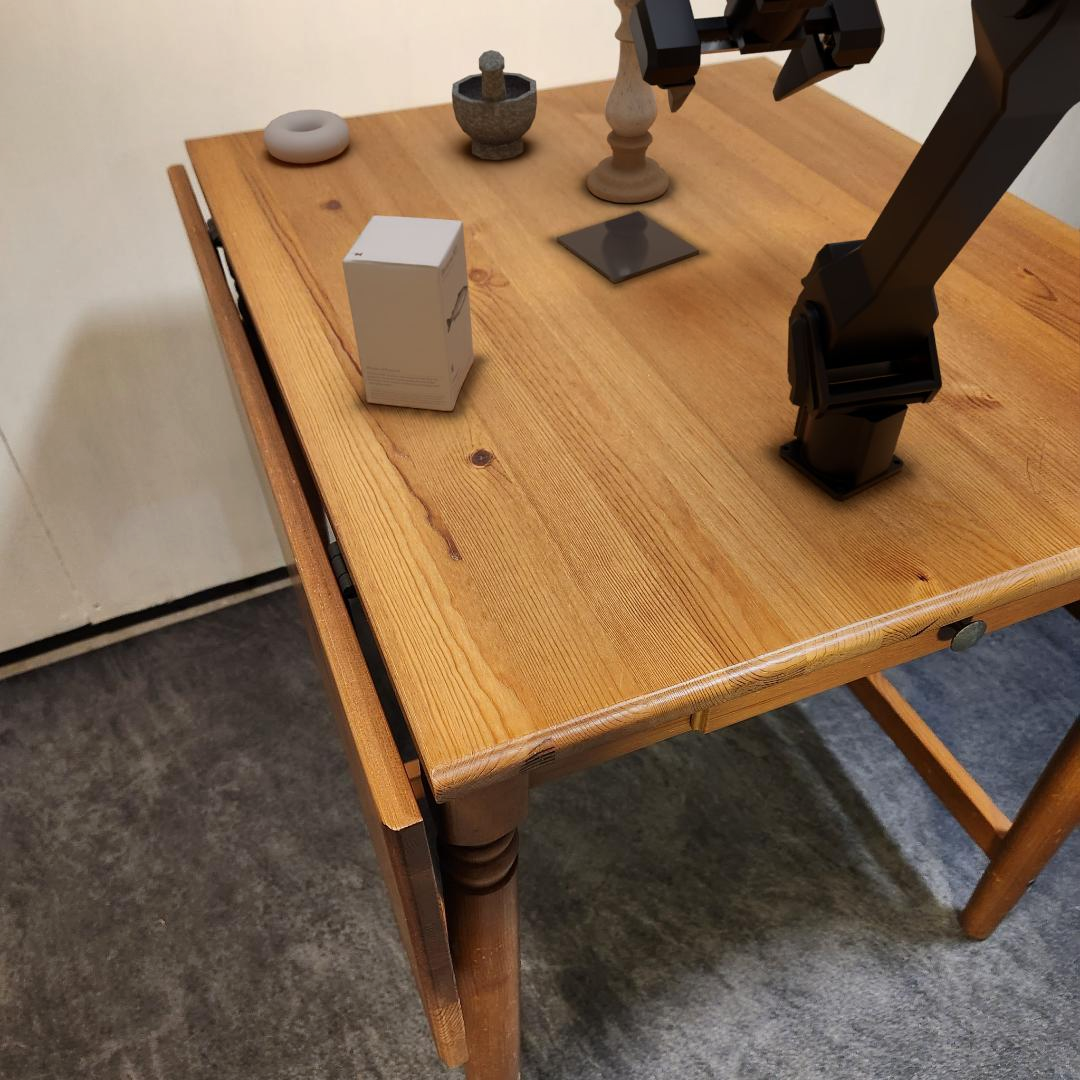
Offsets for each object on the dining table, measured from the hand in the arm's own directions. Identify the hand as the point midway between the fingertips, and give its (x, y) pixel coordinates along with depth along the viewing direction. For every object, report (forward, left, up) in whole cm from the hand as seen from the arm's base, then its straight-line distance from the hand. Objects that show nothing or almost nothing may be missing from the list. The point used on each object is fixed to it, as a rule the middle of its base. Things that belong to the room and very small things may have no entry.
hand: (724, 102), depth 79 cm
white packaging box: (-2, +31, -15) cm, 35 cm away
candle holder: (+18, -4, -15) cm, 24 cm away
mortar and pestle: (+34, +3, -15) cm, 37 cm away
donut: (+47, +21, -15) cm, 54 cm away
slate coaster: (+7, +4, -15) cm, 17 cm away
